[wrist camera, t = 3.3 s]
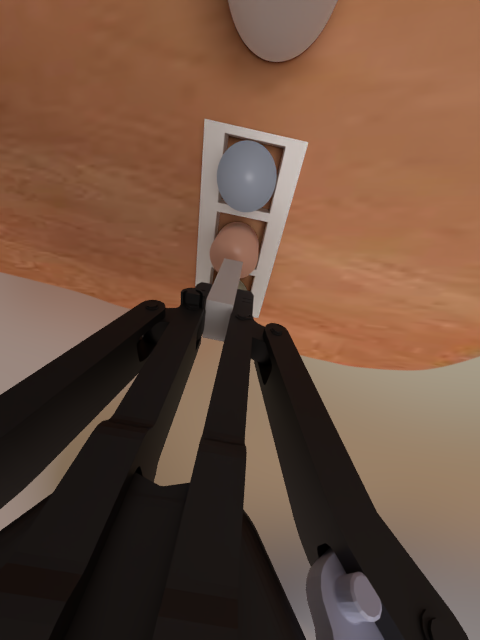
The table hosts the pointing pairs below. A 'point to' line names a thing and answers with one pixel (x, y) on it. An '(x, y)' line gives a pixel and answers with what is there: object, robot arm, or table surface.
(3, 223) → the table surface
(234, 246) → the button terracotta
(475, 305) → the table surface
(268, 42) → the beverage can
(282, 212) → the three-ball tray
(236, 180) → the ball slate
